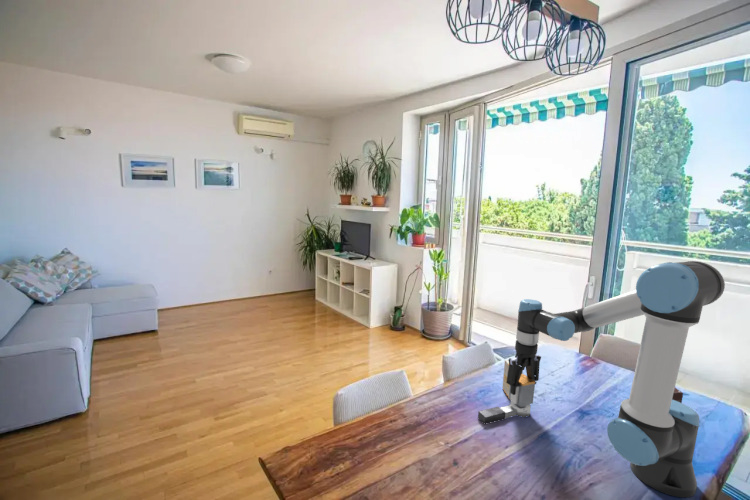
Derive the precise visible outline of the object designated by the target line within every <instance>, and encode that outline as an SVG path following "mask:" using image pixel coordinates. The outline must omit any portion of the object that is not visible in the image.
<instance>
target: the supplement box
mask: <svg viewBox="0 0 750 500" xmlns="http://www.w3.org/2000/svg"><path fill="white" fill-rule="evenodd" d="M519 366H520V365H519ZM503 367H504V368H503V379H502V388H503V389H502V390H504V391H503V392H504V393H506V394H505V395H506V397H507V396H508V397H507V398H508V399H509V389H510V385H509V384H507V383H506V382H507V375H508V369H509V359H505V360H504V366H503ZM523 372H524V370H523V371H522V374H524V373H523Z"/></svg>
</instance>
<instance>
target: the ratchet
mask: <svg viewBox="0 0 750 500" xmlns="http://www.w3.org/2000/svg"><path fill="white" fill-rule="evenodd" d="M477 414H478V415H477V419H478V418H479V419H480V420H481V421H482V422H483V423H482V422H481V421H480V420H479V419H478V420H479V421H480V422H481V423H482V424H484V423H485V424H484V425H487V424H486V423H489V424H491V423H490V422H493V423H495V422H494V421H497V422H499V421H498V420H500V421H503V420H502V419H504V420H505V418H506V419H509V418H508V417H510V418H512V417H511V416H513V417H516V416H515V415H518V416H517V417H519V416H522V417H521V418H527V417H526V416H528V417H529V416H530V415H531V404H529V405H524V406H519V405H518V404H515V403H514V402H512V401H511V400H510V403H509V405H506V406H501V407H500V406H494V407H492V408H486V409H482V410H478V412H477Z"/></svg>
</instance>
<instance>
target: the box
mask: <svg viewBox="0 0 750 500" xmlns="http://www.w3.org/2000/svg"><path fill="white" fill-rule="evenodd" d="M683 397H684V393H683V392H682V391H681V390H679V389H678V388H676V387H675V389H674V393H673V397H672V400H675V401H678V402H680V403H682V402H683ZM682 404H683V403H682Z"/></svg>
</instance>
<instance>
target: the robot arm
mask: <svg viewBox="0 0 750 500" xmlns="http://www.w3.org/2000/svg"><path fill="white" fill-rule="evenodd" d="M724 279H725V278H724V277H723V275H722V274H721V272H720V271H719V270H718V269H717V268H715V266H712V265H711V264H708V263H705V262H702V261H697V260H690V261H689V260H688V261H681V262H680V261H678V262H670V261H669V262H668V261H667V262H663V263H659V264H656V265H653V266H650V267H648V268H646V269H645V270H643V272H641V274H640V275H639V277H637V281H636V286H635V289H634V290H631V291H628V292H625V293H622V294H619V295H616V296H614V297H611V298H607V299H605V300H601V301H599V302H596V303H592V304H589V305H587V306H585V307H581V308H579V309H576V310H571V311H570V310H569V311H565V312H559V313H553V312H549V311H547V310H544V309H543V303H542V302H540V301H539V300H537V299H529V298H528V299H527V298H526V299H522V300H520V303H519V306H518V313H517V314H518V315H517V327H516V340H515V345H514V350H515V355H514V357H513V358H511V357H510V358H508V360H509V369H508V375H507V382H506V383H507V384H509V385H510V386H511V389H510V393H511V399H509V400H510V402H511V401H512V402H514V403H515V404H517V401H518V391H519V387H518V386H517V385H518V382H519V379H520V377H521V374H523V373H522V371H523V372H524V371H526V376H527V377H529V378H531V379H532V380H534V381H535V385H536V384H537V382H538V381H539V379H540V378H539V377H540V363H541V360H542V356H541V355H539V354H538V346H539V344H538V343H539V339H540V338H539V337H540V333H542V334H545V335H546V336H548V337H551V339H555V340H559V341H561V342H562V341H563V342H567V341H569V340H570V339H571V338H572V337H573V336H574V334H578V333H585V332H589V331H592V330H594V329H598V328H601V327H604V326H608V325H611V324H612V325H613V324H615V323H619V322H622V321H626V320H630V319H633V318H636V317H640V316H643V315H644V316H645V322H644V327H643V331H642V335H641V336H642V337H641V342H640V345H639V351H638V355H637V360H636V365H635V370H634V373H633V379H632V384H631V387H630V393H629V397H628V398H627V399H624V400H622V401H621V403H620V406H619V411H618V415H617V417H616V418H613V419H612V420H611V421H610V422H609V423H608V426H607V429H606V430H607V432H606V433H607V438H608V439H609V442H610V444H612V446H613V448H614V450H615V451H616V453H617V454H619V456H621V457H622V458H623V459H625V461H627V462H629V463H630V469H631V471H632V473H633V474H634V475H635V476H636V478H638V479H639V480H640V481H641V482H643V483H644V484H646V485H647V486H648V487H651V488H652V489H654V490H657V491H659V492H661V493H662V494H663V493H664V494H666V495H669V496H671V497H677V498H690V497H693V496H695V494H696V492H697V486H698V484H697V483H698V482H697V478H696V473H695V469H694V465H693V459H694V453H695V447H696V441H697V437H698V432H699V427H700V415H699V413H698V412H697V411H695V410H694V408H692V407H691V406H688V405H686V404H684V403H680V402H678V401H675V400H672V397H673V393H674V389H675V388H676V386H677V385H676V384H677V381H678V375H679V372H680V366H681V364H682V358H683V354H684V352H685V351H684V350H685V346H686V343H687V342H686V341H687V337H688V333H689V329H690V327H693V326H695V325H698V324H699V323H700V319H701V316H702V311H703V307H705V306H708V305H711V304H713V303H715V302H716V301H717V300H719V299H720V298H721V297H722V295H723V293H724V291H725V286H726V284H725V280H724ZM519 365H520V366H519ZM514 382H515V383H514Z"/></svg>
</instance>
